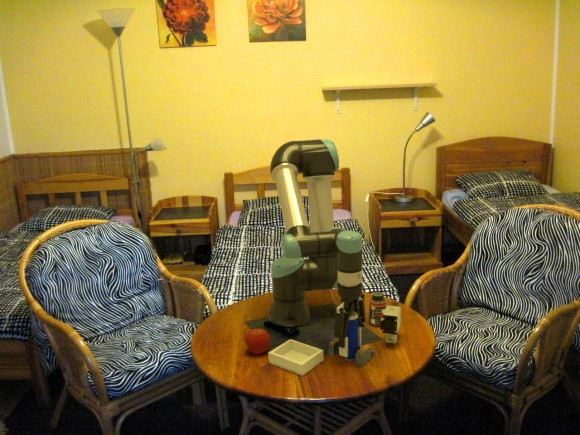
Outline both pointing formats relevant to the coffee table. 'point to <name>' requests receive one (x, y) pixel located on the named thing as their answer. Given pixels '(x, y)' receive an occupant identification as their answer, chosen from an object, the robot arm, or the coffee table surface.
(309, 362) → the tray
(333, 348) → the fuse holder
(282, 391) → the coffee table surface
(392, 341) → the pneumatic valve
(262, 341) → the apple
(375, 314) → the supplement bottle
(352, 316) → the beverage can
